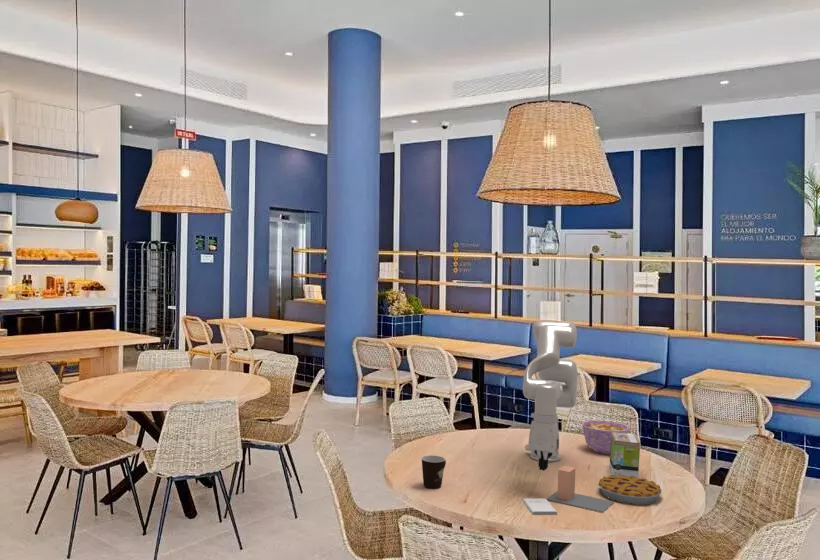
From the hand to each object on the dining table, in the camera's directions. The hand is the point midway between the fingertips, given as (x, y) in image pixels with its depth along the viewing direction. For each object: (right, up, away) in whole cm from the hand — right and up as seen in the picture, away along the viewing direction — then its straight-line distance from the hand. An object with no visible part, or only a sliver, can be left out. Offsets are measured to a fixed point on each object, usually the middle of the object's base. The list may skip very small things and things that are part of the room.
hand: (543, 469), depth 245 cm
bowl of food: (+38, -8, +59) cm, 71 cm away
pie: (+31, -10, +1) cm, 33 cm away
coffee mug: (-38, -7, +5) cm, 39 cm away
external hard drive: (-4, -10, -15) cm, 18 cm away
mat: (+11, -9, -7) cm, 16 cm away
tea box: (+37, -9, +27) cm, 47 cm away
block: (+7, -9, -4) cm, 12 cm away
